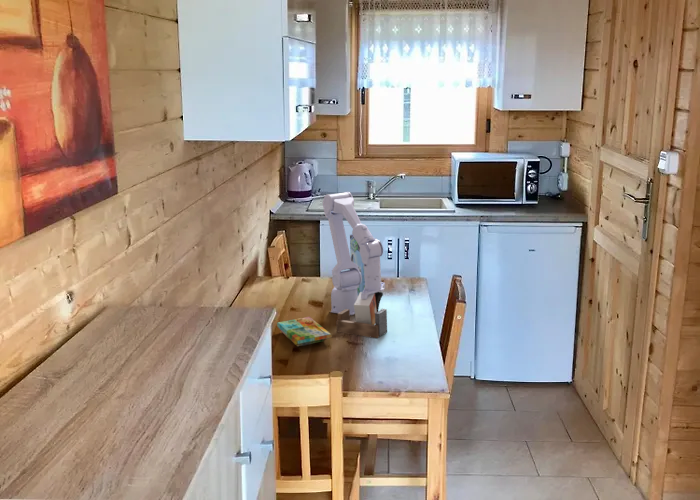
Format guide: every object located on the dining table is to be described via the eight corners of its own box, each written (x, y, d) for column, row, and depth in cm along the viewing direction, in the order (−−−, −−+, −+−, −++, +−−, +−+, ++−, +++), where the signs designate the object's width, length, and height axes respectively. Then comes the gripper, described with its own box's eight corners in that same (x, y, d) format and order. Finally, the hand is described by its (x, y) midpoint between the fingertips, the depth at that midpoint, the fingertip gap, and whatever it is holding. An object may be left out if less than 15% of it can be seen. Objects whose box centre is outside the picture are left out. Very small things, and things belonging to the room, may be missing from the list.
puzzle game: (308, 314, 246) (331, 331, 228) (309, 327, 247) (331, 345, 229) (276, 320, 241) (297, 338, 224) (277, 333, 242) (298, 351, 225)
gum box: (351, 288, 289) (349, 234, 284) (363, 287, 290) (361, 233, 285) (362, 302, 271) (360, 244, 265) (375, 301, 272) (373, 243, 266)
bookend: (375, 336, 235) (374, 313, 233) (383, 331, 239) (382, 308, 237) (379, 336, 234) (378, 314, 232) (387, 331, 238) (386, 309, 237)
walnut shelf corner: (336, 331, 240) (335, 314, 239) (346, 325, 246) (345, 308, 245) (376, 338, 233) (376, 321, 231) (386, 331, 239) (386, 314, 237)
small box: (372, 331, 240) (369, 306, 235) (356, 330, 242) (353, 304, 236) (378, 317, 246) (375, 292, 241) (362, 316, 248) (359, 291, 243)
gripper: (373, 282, 235) (375, 320, 238) (392, 271, 247) (393, 308, 250) (354, 280, 238) (356, 318, 241) (374, 269, 250) (376, 306, 254)
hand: (374, 313), depth 246 cm, fingers closed, pressing on small box
